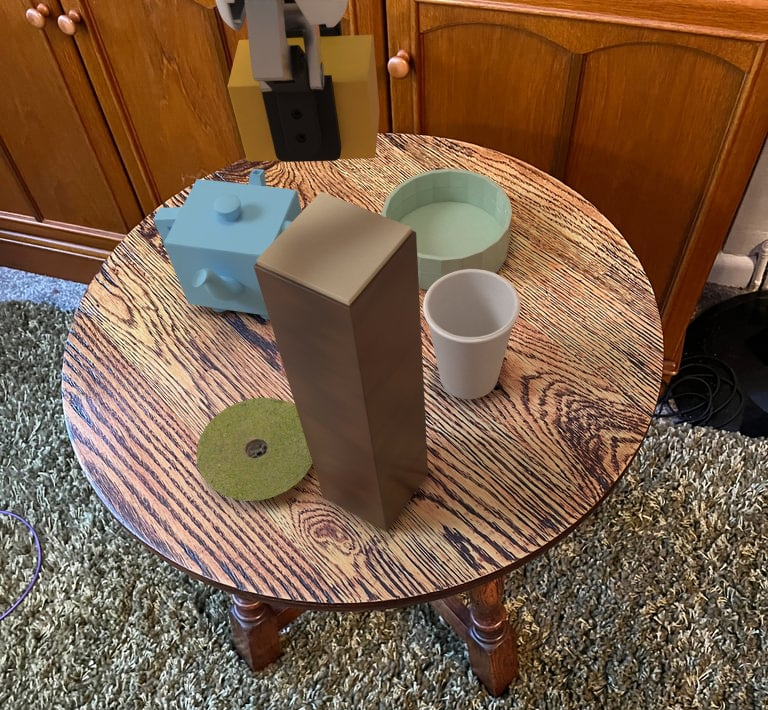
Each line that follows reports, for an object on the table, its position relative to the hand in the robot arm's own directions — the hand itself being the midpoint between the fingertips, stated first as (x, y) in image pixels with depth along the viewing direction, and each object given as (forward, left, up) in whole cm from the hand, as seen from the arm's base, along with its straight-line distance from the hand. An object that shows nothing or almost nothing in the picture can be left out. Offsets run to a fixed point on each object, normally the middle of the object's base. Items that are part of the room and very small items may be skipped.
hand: (313, 125), depth 39 cm
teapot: (+25, -13, -36) cm, 45 cm away
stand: (0, 0, -36) cm, 36 cm away
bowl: (+10, -29, -36) cm, 47 cm away
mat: (+11, +3, -36) cm, 38 cm away
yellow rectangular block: (0, 0, -1) cm, 1 cm away
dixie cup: (-1, -15, -36) cm, 39 cm away
